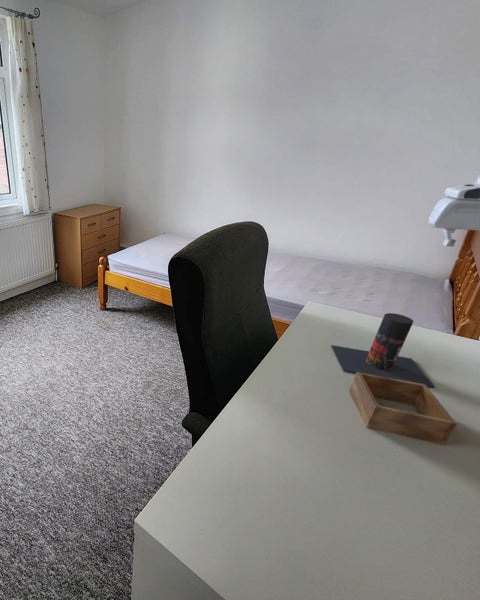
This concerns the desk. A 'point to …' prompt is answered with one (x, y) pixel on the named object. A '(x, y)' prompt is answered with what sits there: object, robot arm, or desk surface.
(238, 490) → the desk surface
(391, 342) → the deodorant
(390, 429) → the wooden box
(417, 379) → the desk mat
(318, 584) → the desk surface
